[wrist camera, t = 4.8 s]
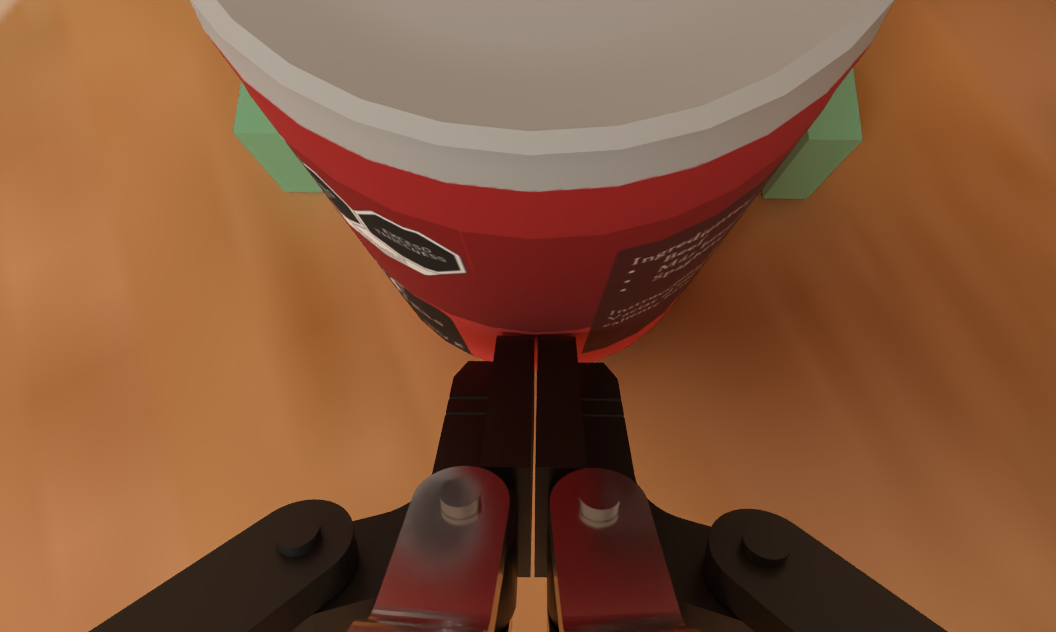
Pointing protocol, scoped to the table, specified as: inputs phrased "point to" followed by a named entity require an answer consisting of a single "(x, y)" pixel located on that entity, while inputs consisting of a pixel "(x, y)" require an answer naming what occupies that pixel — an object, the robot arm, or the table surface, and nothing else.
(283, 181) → the green u-shaped frame
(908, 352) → the table surface
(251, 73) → the canned food
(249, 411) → the table surface
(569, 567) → the robot arm
